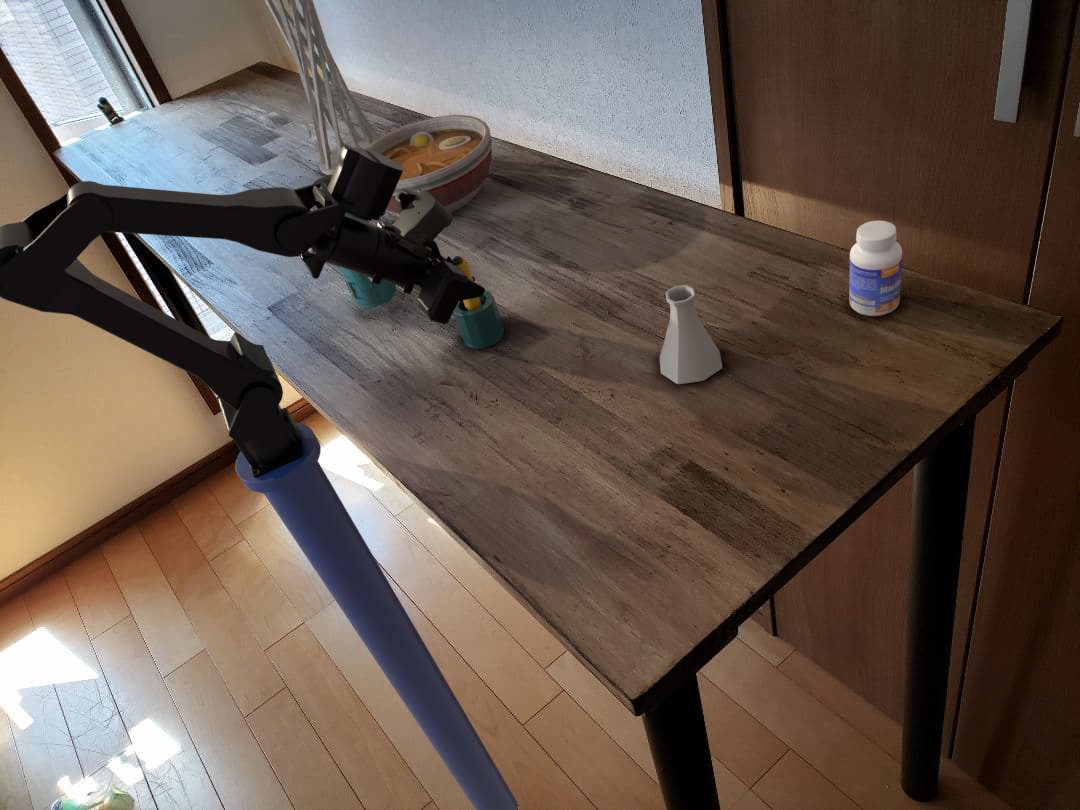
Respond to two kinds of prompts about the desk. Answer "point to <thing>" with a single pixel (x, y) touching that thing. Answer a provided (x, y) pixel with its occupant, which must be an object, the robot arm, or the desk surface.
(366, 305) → the beverage bottle
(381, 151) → the bowl
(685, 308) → the flask
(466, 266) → the pencil
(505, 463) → the desk surface
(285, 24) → the vase
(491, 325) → the pen pot
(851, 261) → the pill bottle
